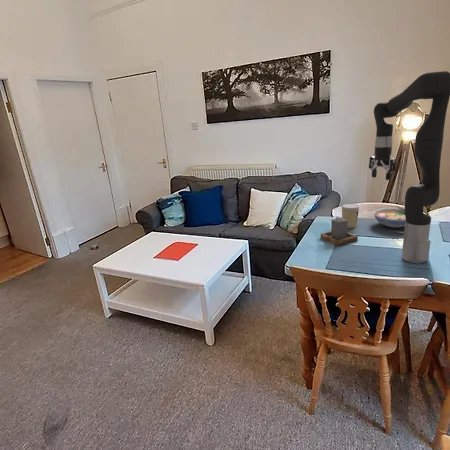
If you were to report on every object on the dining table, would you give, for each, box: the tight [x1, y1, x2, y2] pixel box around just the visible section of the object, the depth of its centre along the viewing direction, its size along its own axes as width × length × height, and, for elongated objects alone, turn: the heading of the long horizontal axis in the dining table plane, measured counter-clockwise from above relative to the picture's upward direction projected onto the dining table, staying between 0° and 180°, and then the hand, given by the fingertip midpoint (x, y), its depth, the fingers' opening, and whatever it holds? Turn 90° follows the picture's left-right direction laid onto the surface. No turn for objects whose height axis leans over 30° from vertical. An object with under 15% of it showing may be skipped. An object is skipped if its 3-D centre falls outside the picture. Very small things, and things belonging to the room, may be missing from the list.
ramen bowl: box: [372, 205, 406, 229], centre depth 179 cm, size 25×23×8 cm
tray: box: [320, 230, 359, 247], centre depth 168 cm, size 13×13×2 cm
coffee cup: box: [341, 203, 360, 229], centre depth 184 cm, size 9×9×12 cm
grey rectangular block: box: [330, 216, 348, 240], centre depth 166 cm, size 6×6×11 cm
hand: (380, 178), depth 161 cm, fingers open, 8 cm apart
